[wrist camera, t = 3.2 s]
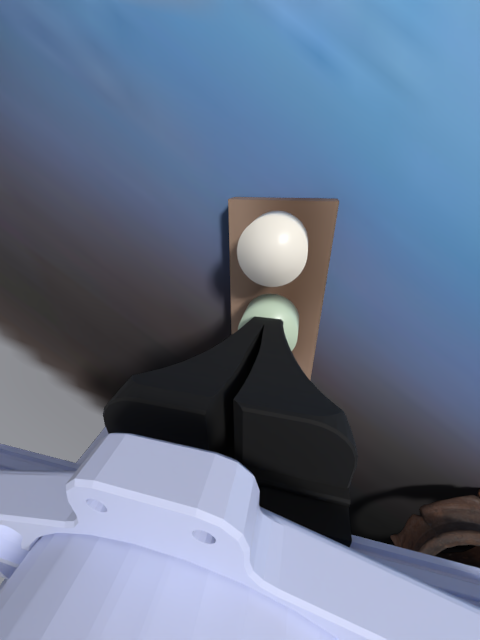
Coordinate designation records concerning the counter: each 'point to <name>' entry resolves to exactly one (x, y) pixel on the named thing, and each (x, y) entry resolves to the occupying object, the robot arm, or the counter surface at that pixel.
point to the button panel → (309, 282)
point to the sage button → (275, 314)
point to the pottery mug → (445, 529)
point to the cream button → (273, 249)
